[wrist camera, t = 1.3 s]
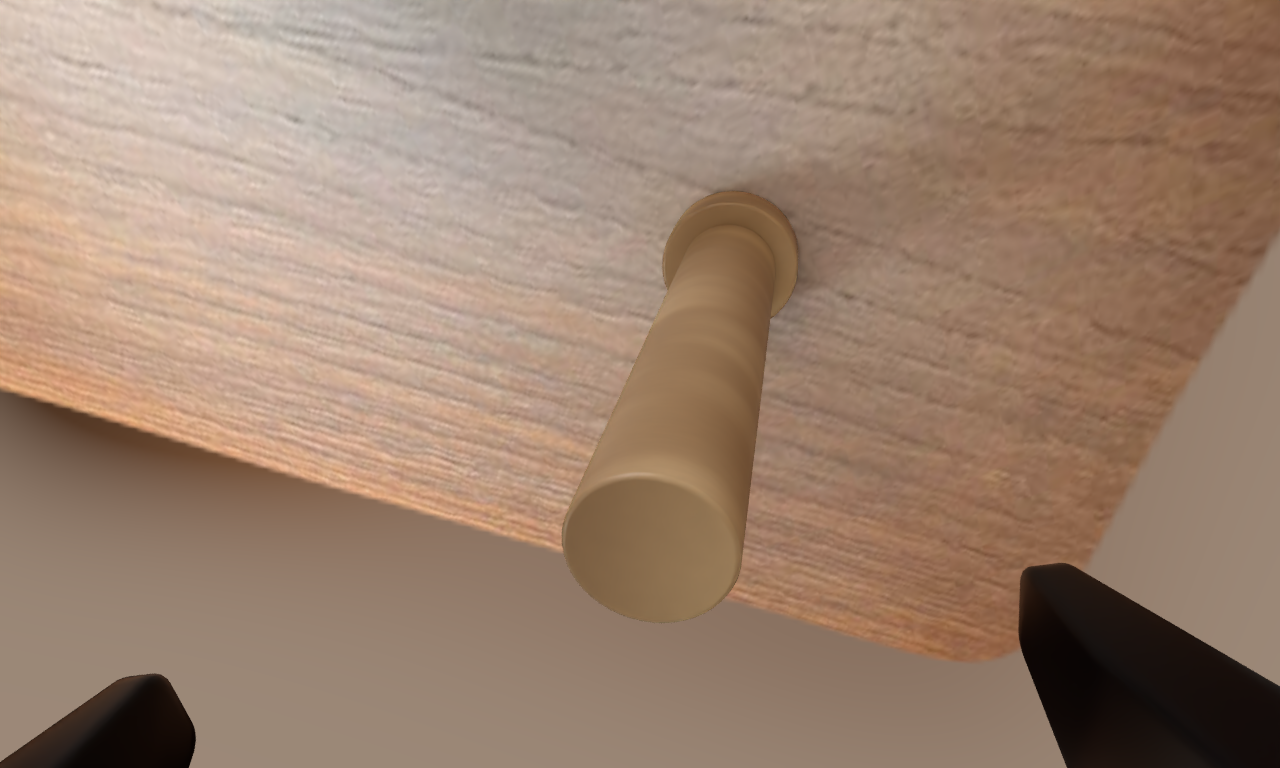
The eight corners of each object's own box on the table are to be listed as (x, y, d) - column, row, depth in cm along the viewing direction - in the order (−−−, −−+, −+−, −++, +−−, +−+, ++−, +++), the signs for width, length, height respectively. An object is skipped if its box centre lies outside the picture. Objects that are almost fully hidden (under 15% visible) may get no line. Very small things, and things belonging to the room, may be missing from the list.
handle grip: (801, 190, 20) (789, 444, 9) (795, 316, 21) (780, 668, 10) (667, 190, 20) (506, 428, 10) (671, 313, 22) (533, 643, 11)
